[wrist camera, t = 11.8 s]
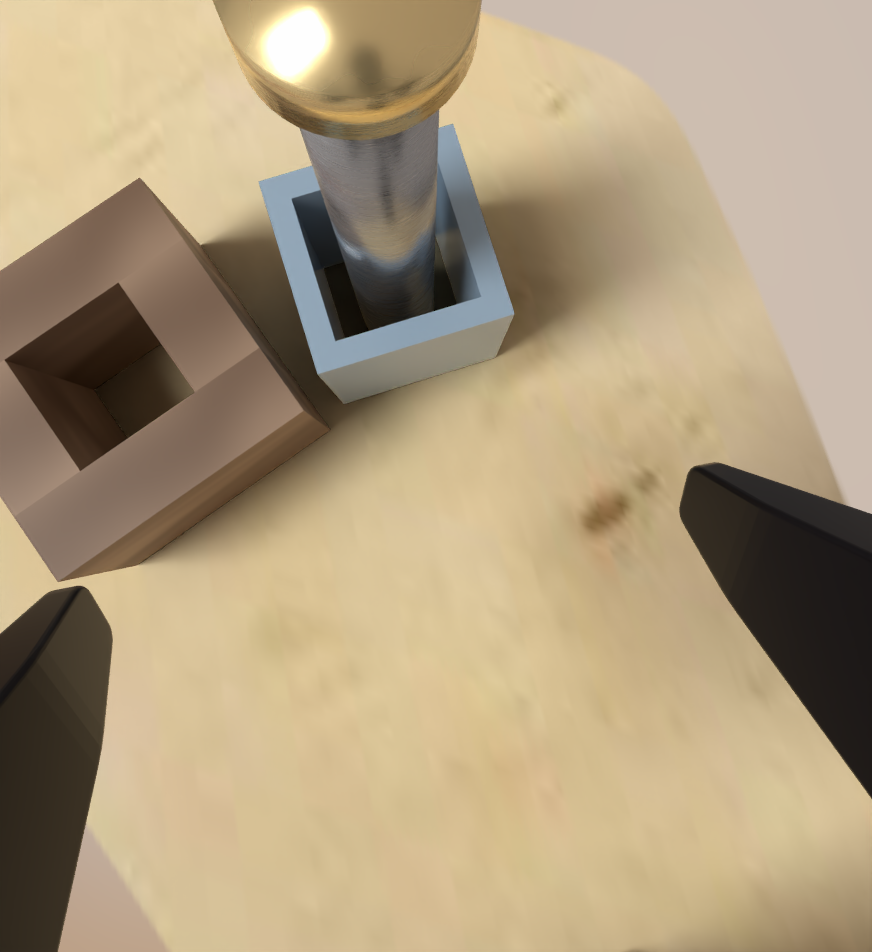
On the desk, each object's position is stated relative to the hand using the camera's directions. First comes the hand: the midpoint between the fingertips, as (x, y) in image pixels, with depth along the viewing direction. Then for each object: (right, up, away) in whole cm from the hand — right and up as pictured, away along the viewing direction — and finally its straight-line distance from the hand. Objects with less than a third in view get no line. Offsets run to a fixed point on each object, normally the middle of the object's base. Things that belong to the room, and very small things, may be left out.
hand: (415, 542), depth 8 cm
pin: (-1, +8, +13) cm, 16 cm away
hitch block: (-10, +4, +13) cm, 17 cm away
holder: (-1, +8, +13) cm, 16 cm away
